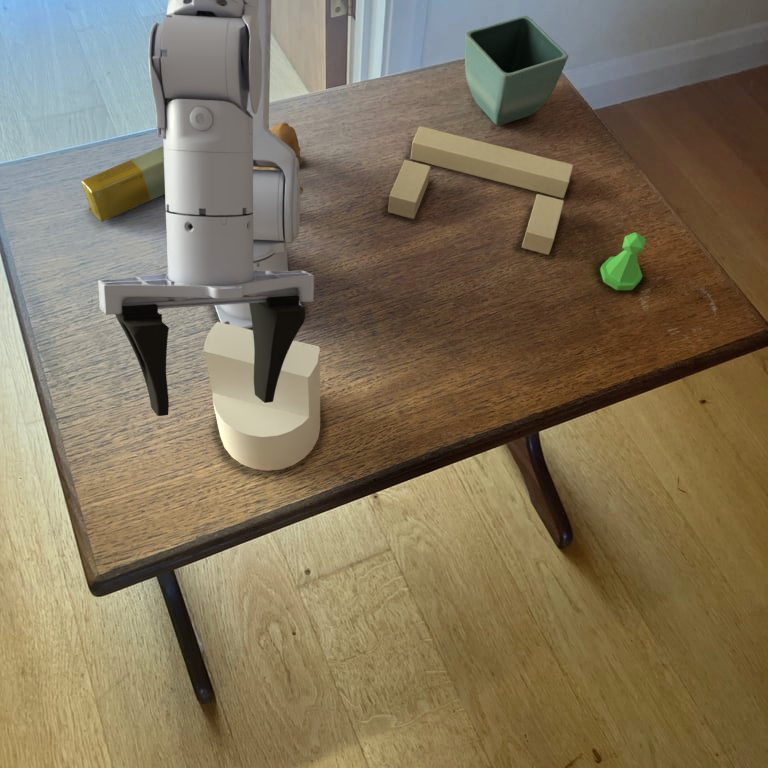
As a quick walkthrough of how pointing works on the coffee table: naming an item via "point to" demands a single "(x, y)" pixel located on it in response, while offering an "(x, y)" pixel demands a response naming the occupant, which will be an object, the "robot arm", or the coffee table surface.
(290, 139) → the lion figurine
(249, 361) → the base with upright slab
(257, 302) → the robot arm
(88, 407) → the coffee table surface
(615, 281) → the game piece
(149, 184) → the medication box
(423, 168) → the bay
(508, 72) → the flower pot
